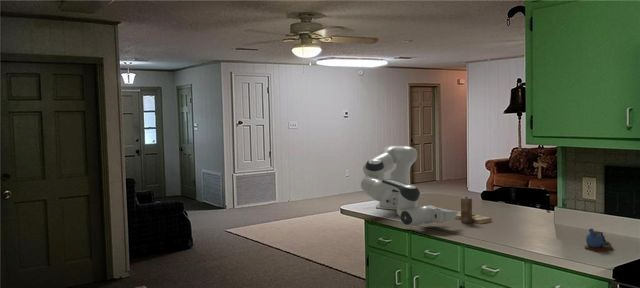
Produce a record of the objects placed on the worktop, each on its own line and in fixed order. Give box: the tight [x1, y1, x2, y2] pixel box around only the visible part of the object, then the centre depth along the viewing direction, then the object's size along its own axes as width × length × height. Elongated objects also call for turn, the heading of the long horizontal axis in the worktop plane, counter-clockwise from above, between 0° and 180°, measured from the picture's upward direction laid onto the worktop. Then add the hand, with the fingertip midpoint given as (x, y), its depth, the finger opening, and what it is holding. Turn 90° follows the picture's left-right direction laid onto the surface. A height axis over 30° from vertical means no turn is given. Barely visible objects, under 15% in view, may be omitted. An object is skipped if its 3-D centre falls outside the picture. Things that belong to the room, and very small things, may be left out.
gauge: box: [460, 196, 477, 225], centre depth 285 cm, size 8×4×14 cm, turn 119°
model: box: [584, 227, 614, 253], centre depth 225 cm, size 12×9×9 cm
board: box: [454, 210, 493, 225], centre depth 293 cm, size 24×9×2 cm, turn 29°
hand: (449, 210), depth 279 cm, fingers open, 8 cm apart
